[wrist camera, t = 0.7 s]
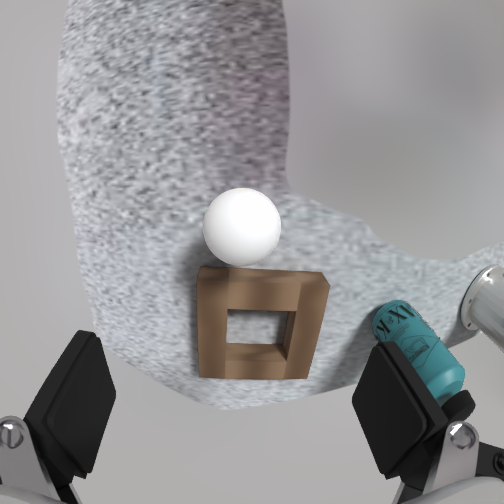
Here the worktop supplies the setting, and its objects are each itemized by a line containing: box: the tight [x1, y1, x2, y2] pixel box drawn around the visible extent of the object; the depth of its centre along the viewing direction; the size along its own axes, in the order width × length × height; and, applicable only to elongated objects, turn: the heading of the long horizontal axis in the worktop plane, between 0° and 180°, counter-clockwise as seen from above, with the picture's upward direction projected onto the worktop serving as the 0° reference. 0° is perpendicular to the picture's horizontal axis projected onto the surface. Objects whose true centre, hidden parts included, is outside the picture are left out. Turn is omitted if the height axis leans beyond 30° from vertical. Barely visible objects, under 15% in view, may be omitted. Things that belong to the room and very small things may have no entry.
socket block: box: [197, 266, 330, 380], centre depth 33 cm, size 14×14×4 cm
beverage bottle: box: [372, 300, 475, 426], centre depth 27 cm, size 6×7×20 cm
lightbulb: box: [203, 188, 281, 266], centre depth 25 cm, size 6×6×11 cm
